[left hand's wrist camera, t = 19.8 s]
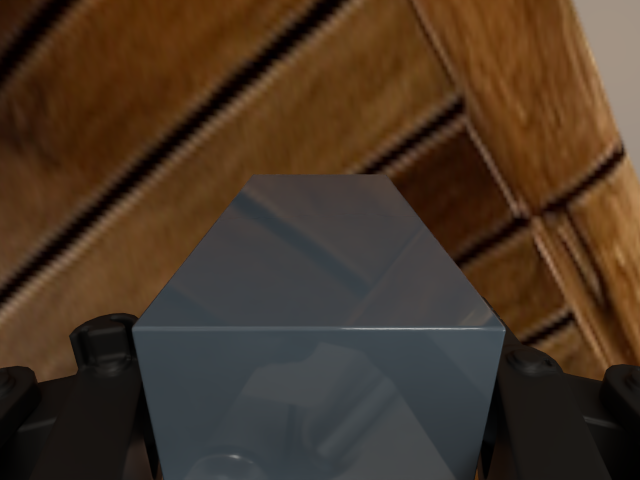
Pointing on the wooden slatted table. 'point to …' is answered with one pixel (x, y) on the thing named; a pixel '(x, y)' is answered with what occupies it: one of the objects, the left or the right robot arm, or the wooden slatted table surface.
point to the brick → (318, 342)
